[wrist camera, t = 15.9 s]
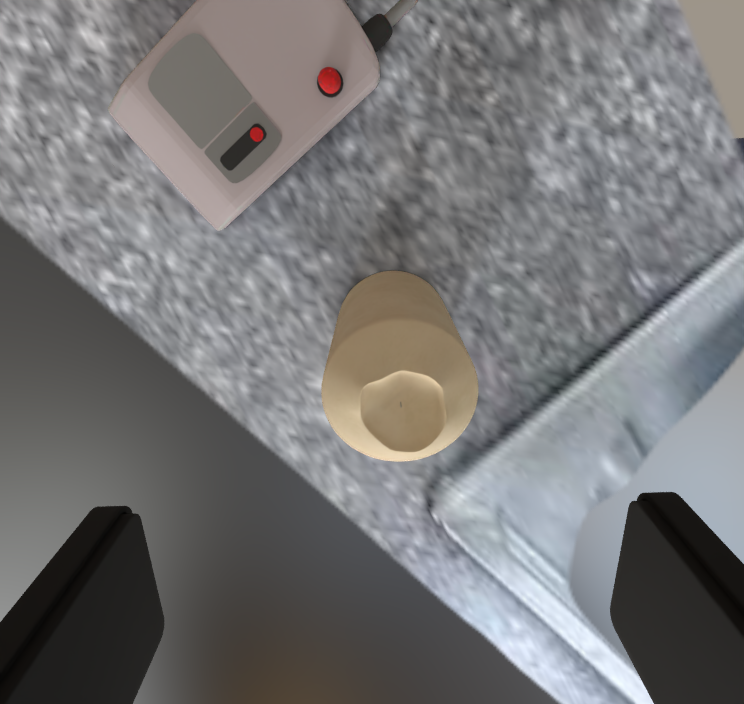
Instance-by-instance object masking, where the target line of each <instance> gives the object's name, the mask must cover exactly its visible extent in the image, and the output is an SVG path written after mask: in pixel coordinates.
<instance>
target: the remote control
mask: <svg viewBox="0 0 744 704" xmlns="http://www.w3.org/2000/svg"><path fill="white" fill-rule="evenodd" d="M417 2H418V0H400V1H399V2H398V3H397V4H396V5H395V6H394V7H392V8H391V9H390V10H389V11H388V12H387V13H386V14H385V15H382V14H377V15H375V16H373V17H372V18H371V19H369V20H368V21H367V22H366V23H365V24H364V25H363V26H362V27H361V25H360V24H359V22H358V20H357V19H356V17H355V16H354V14H353V13H352V12H351V10H350V9H349V7H348V6H347V4H346V3H345V1H344V0H196V1H195V2H194V3H193V5H192V6H191V7H190V8H189V9H188V10H187V11H186V12H185V13H184V14H183V16H182V17H181V18H180V19H179V20H178V21H177V22H176V23H175V24H174V26H173V27H172V28H171V29H170V30H169V31H168V32H167V33H166V34H165V35H164V37H163V38H162V39H161V40H160V41H159V42H158V43H157V44H156V45H155V46H154V48H153V49H152V50H151V51H150V52H149V53H148V54H147V55H146V56H145V58H144V59H143V60H142V61H141V62H140V63H139V64H138V65H137V66H136V67H135V69H134V70H133V71H132V72H131V73H130V74H129V75H128V76H127V78H126V79H125V80H124V81H123V83H122V85H121V86H120V88H119V89H118V91H117V93H116V95H115V97H114V98H113V100H112V102H111V104H110V105H109V107H108V111H109V113H110V114H111V115H112V116H113V118H114V119H115V120H116V121H117V122H118V124H119V125H120V126H121V127H122V128H123V129H124V130H125V132H126V133H127V134H128V135H129V136H130V137H131V138H132V139H133V140H134V142H135V143H136V144H137V145H138V146H139V147H140V148H141V149H142V150H143V151H144V152H145V154H146V155H147V156H148V157H149V158H150V159H151V160H152V161H153V162H154V163H155V164H156V166H157V167H158V168H159V169H160V170H161V171H162V172H163V173H164V174H165V175H166V176H167V178H168V179H169V180H170V181H171V182H172V183H173V184H174V185H175V186H176V187H177V188H178V190H179V191H180V192H181V193H182V194H183V195H184V196H185V197H186V198H187V199H188V200H189V202H190V203H191V204H192V205H193V206H194V207H195V208H196V209H197V210H198V211H199V212H200V213H201V214H202V215H203V217H204V218H205V219H206V220H207V221H208V222H209V223H210V224H211V225H212V226H213V227H214V228H215V229H217V230H218V231H220V230H223V229H225V228H226V227H227V226H228V225H229V224H230V223H231V222H232V221H233V220H234V219H235V218H237V217H238V216H239V215H240V214H241V213H242V212H243V211H244V210H245V209H246V208H247V207H248V206H249V205H250V204H251V203H253V202H254V201H255V200H256V199H257V198H258V197H259V196H260V195H261V194H262V193H263V192H264V191H265V190H267V189H268V188H269V187H270V186H271V185H272V184H273V183H274V182H275V181H276V180H277V179H278V178H279V177H280V176H282V175H283V174H284V173H285V172H286V171H287V170H288V169H289V168H290V167H291V166H292V165H293V164H294V163H296V162H297V161H298V160H299V159H300V158H301V157H302V156H303V155H304V154H305V153H306V152H307V151H308V150H309V149H311V148H312V147H313V146H314V145H315V144H316V143H317V142H318V141H319V140H320V139H321V138H322V137H323V136H325V135H326V134H327V133H328V132H329V131H330V130H331V129H332V128H333V127H334V126H335V125H336V124H337V123H338V122H340V121H341V120H342V119H343V118H344V117H345V116H346V115H347V114H348V113H349V112H350V111H351V110H352V109H354V108H355V107H356V106H357V105H358V104H359V103H360V102H361V101H362V100H363V99H364V98H365V97H366V96H367V95H369V94H370V93H371V92H372V91H373V90H374V89H375V88H376V87H377V85H378V83H379V81H380V65H379V62H378V59H377V56H376V54H375V52H377V51H378V50H379V49H380V48H381V47H382V46H383V45H384V44H385V43H386V42H387V41H388V39H389V38H390V37H391V35H392V27H393V26H394V25H395V24H396V23H397V22H398V21H399V20H400V19H401V18H402V17H403V16H404V15H405V14H406V13H407V12H408V11H409V10H411V9H412V8H413V7H414V5H415V4H416V3H417ZM113 166H114V165H113ZM148 203H149V202H148ZM165 221H166V220H165Z"/></svg>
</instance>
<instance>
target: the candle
mask: <svg viewBox="0 0 744 704" xmlns="http://www.w3.org/2000/svg"><path fill="white" fill-rule="evenodd" d="M321 394H322V403H323V407H324V411H325V414H326V416H327V419H328V421H329V423H330V424H331V426H332V428H333V429H334V430H335V432H336V433H337V434H338V436H339V437H340V438H341V439H342V440H344V441H345V442H346V443H347V444H348V445H350V446H351V447H352V448H354V449H355V450H357V451H359V452H361V453H363V454H365V455H367V456H370V457H373V458H376V459H380V460H386V461H398V462H399V461H411V460H417V459H421V458H424V457H428V456H430V455H432V454H435V453H437V452H439V451H441V450H442V449H444V448H446V447H447V446H448V445H450V444H451V443H452V442H453V441H455V440H456V439H457V438H458V437H459V436H460V435H461V433H462V432H463V431H464V430H465V428H466V427H467V425H468V424H469V422H470V420H471V418H472V416H473V414H474V411H475V408H476V405H477V399H478V380H477V374H476V371H475V367H474V365H473V363H472V361H471V358H470V356H469V354H468V352H467V350H466V348H465V346H464V344H463V342H462V340H461V338H460V336H459V333H458V331H457V329H456V327H455V325H454V323H453V321H452V319H451V317H450V315H449V313H448V311H447V309H446V307H445V305H444V303H443V301H442V299H441V297H440V296H439V294H438V293H437V292H436V290H435V289H434V288H433V287H432V286H431V285H430V284H429V283H428V282H426V281H425V280H423V279H422V278H420V277H418V276H416V275H413V274H411V273H408V272H403V271H384V272H379V273H376V274H373V275H371V276H369V277H366V278H365V279H363V280H362V281H360V282H359V283H358V284H357V285H355V286H354V287H353V288H352V290H351V291H350V292H349V293H348V295H347V296H346V298H345V300H344V302H343V304H342V306H341V309H340V312H339V315H338V319H337V323H336V327H335V331H334V335H333V339H332V343H331V347H330V351H329V355H328V359H327V363H326V367H325V371H324V375H323V381H322V393H321Z"/></svg>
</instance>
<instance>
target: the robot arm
mask: <svg viewBox="0 0 744 704" xmlns="http://www.w3.org/2000/svg"><path fill="white" fill-rule="evenodd" d="M610 614H611V620H612V623H613V626H614V628H615V631H616V632H617V634H618V636H619V638H620V640H621V642H622V644H623V646H624V648H625V649H626V651H627V653H628V655H629V657H630V659H631V661H632V663H633V665H634V667H635V668H636V670H637V672H638V674H639V676H640V678H641V680H642V682H643V684H644V686H645V687H646V689H647V691H648V693H649V695H650V697H651V699H652V701H653V703H654V704H744V564H743V563H742V562H741V561H740V560H739V559H738V558H737V557H736V556H735V555H734V554H733V552H732V551H731V550H730V549H729V548H728V547H727V546H726V545H725V544H724V543H723V542H722V541H721V540H720V539H719V537H718V536H717V535H716V534H715V533H714V532H713V531H712V530H711V529H710V528H709V527H708V526H707V525H706V524H705V522H703V520H702V519H701V518H700V517H699V516H698V515H697V514H696V513H695V512H694V511H693V510H692V509H691V507H689V505H688V504H687V503H686V502H685V501H684V500H683V499H682V498H681V497H680V496H679V495H678V494H676V493H673V492H658V493H642V494H640V495H639V497H638V498H637V501H632V502H631V503H630V505H629V508H628V514H627V519H626V524H625V530H624V535H623V540H622V546H621V551H620V557H619V563H618V567H617V573H616V578H615V584H614V589H613V595H612V600H611V606H610ZM163 630H164V615H163V611H162V607H161V603H160V598H159V594H158V590H157V586H156V581H155V577H154V573H153V569H152V564H151V560H150V556H149V551H148V547H147V543H146V538H145V534H144V530H143V526H142V522H141V518H140V516H139V515H138V514H133V513H132V510H131V509H130V508H129V507H127V506H106V507H96V508H93V509H92V510H91V511H90V512H89V514H88V515H87V516H86V517H85V518H84V520H83V521H82V522H81V523H80V525H79V526H78V527H77V528H76V530H75V531H74V532H73V533H72V534H71V536H70V537H69V538H68V539H67V541H66V542H65V543H64V544H63V546H62V547H61V548H60V549H59V551H58V552H57V553H56V554H55V556H54V557H53V558H52V559H51V560H50V562H49V563H48V564H47V565H46V567H45V568H44V569H43V570H42V571H41V573H40V574H39V575H38V576H37V578H36V579H35V580H34V581H33V583H32V584H31V585H30V586H29V588H28V589H27V590H26V591H25V592H24V594H23V595H22V596H21V598H20V599H19V600H18V601H17V602H16V604H15V605H14V606H13V607H12V609H11V610H10V611H9V612H8V614H7V615H6V616H5V617H4V618H3V620H2V621H1V622H0V704H133V701H134V699H135V697H136V695H137V693H138V690H139V688H140V686H141V684H142V681H143V679H144V677H145V674H146V672H147V670H148V668H149V665H150V663H151V661H152V659H153V656H154V654H155V652H156V649H157V647H158V645H159V643H160V641H161V638H162V635H163Z"/></svg>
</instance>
